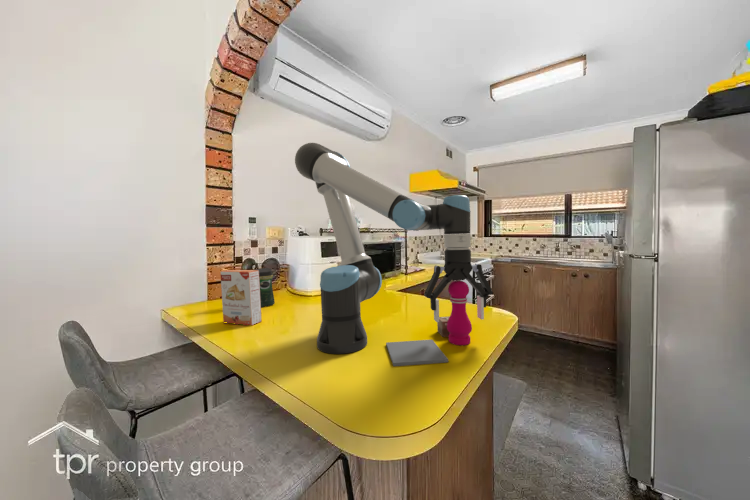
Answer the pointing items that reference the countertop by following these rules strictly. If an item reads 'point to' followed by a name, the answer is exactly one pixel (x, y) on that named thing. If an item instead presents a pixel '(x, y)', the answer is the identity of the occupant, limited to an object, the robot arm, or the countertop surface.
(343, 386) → the countertop surface
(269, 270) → the coffee jar
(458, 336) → the pepper mill
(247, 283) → the cracker box
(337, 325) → the robot arm
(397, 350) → the grey mat
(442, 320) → the marked cube
